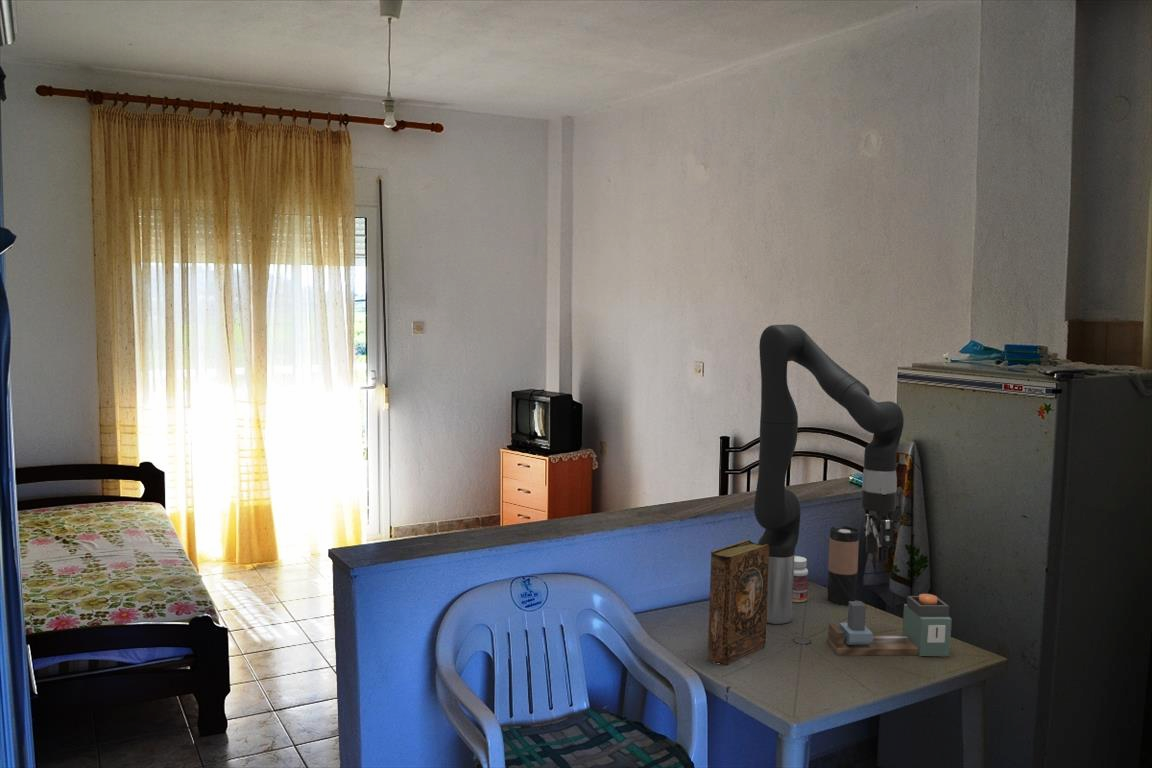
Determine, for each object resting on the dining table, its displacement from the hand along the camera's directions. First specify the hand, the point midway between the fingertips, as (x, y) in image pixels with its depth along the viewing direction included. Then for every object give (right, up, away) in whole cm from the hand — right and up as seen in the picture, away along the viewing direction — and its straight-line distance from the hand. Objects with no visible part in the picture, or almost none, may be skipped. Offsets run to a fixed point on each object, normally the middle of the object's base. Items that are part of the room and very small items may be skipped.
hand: (876, 557), depth 210 cm
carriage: (-3, -21, +5) cm, 21 cm away
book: (-32, -23, +1) cm, 39 cm away
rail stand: (0, -22, +5) cm, 23 cm away
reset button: (+14, -12, +5) cm, 19 cm away
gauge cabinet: (+13, -23, +6) cm, 27 cm away
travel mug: (+3, -19, +37) cm, 42 cm away
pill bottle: (-9, -19, +39) cm, 44 cm away
